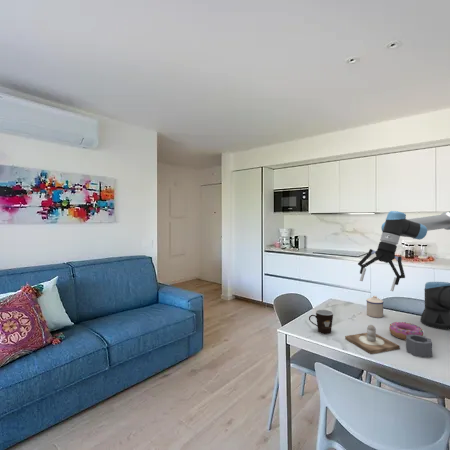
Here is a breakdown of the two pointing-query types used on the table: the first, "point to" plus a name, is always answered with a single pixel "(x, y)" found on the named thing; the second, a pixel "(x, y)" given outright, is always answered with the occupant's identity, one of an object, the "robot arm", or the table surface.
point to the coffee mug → (323, 321)
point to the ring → (419, 345)
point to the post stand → (372, 341)
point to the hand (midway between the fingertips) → (376, 285)
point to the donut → (404, 329)
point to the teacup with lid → (375, 307)
